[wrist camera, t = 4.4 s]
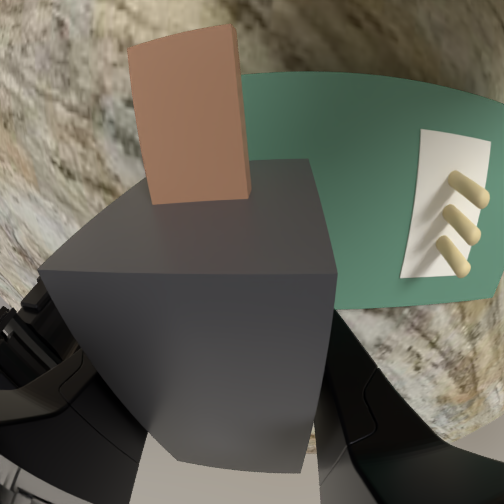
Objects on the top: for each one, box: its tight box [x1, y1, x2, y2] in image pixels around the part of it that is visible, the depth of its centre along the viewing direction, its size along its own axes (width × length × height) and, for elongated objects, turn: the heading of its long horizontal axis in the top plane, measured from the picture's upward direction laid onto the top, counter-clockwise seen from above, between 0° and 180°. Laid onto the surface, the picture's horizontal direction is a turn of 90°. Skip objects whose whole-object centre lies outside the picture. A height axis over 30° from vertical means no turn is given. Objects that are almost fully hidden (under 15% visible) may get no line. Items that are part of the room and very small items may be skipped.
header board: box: [241, 71, 504, 310], centre depth 13 cm, size 14×22×4 cm, turn 95°
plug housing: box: [37, 24, 338, 473], centre depth 7 cm, size 11×4×5 cm, turn 5°
